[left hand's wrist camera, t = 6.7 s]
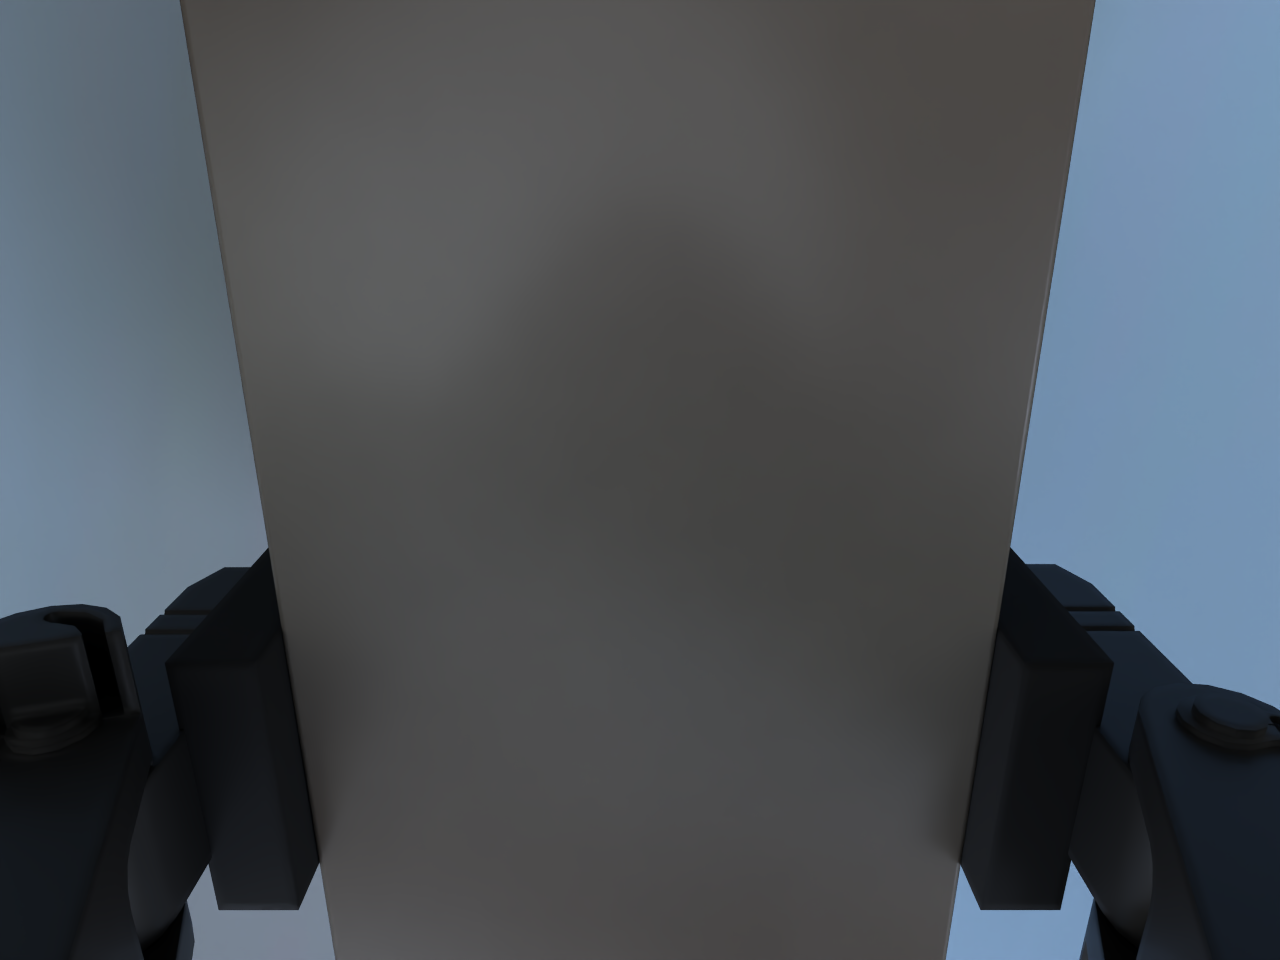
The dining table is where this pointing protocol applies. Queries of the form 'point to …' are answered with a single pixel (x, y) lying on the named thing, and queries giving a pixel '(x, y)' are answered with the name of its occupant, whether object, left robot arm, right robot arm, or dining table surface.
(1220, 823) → the left robot arm
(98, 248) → the dining table surface
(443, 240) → the grey rectangular box
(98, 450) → the dining table surface
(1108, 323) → the dining table surface
